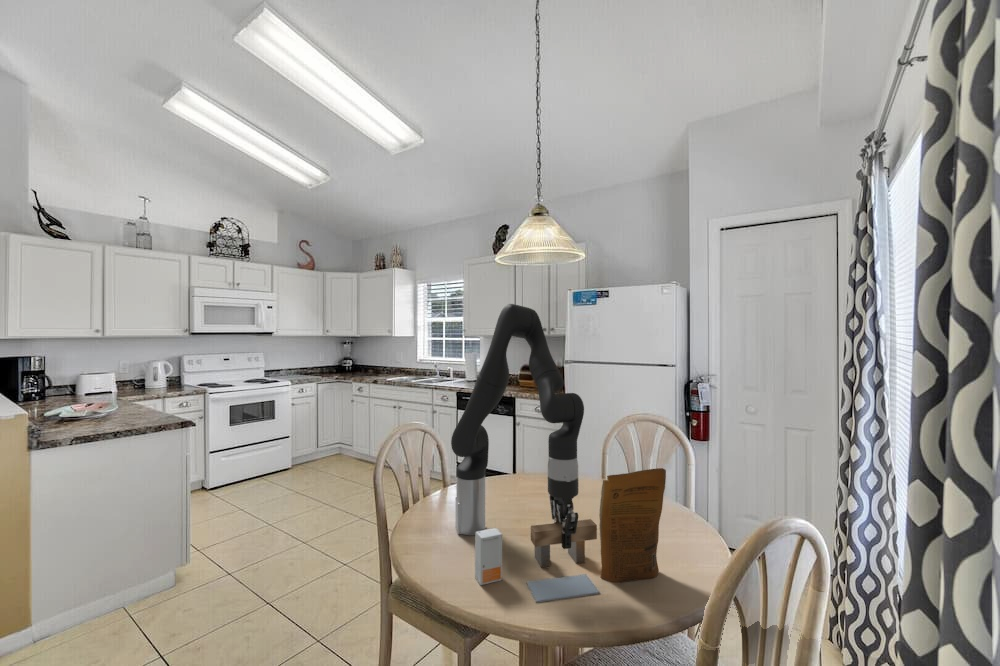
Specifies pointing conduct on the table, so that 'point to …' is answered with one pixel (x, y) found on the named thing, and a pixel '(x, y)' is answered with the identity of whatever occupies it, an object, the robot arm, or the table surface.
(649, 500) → the pancake mix bag
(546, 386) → the robot arm
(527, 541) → the table surface
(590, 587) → the mat
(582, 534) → the rail
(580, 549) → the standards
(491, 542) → the skincare box
